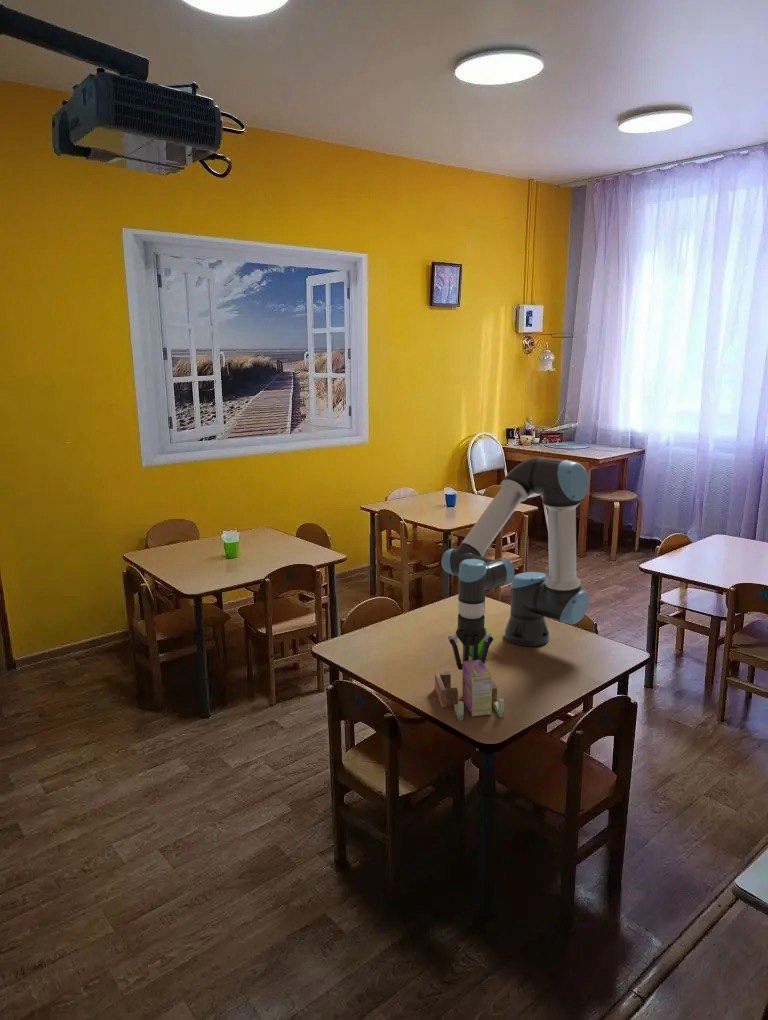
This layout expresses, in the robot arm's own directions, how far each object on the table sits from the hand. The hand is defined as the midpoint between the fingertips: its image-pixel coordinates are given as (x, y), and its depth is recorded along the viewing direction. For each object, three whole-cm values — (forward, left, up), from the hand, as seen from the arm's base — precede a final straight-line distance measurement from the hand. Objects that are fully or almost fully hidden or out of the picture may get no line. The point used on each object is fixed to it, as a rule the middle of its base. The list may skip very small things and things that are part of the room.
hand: (469, 690), depth 199 cm
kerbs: (0, +10, -2) cm, 10 cm away
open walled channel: (+1, 0, -2) cm, 2 cm away
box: (0, +7, -2) cm, 7 cm away
